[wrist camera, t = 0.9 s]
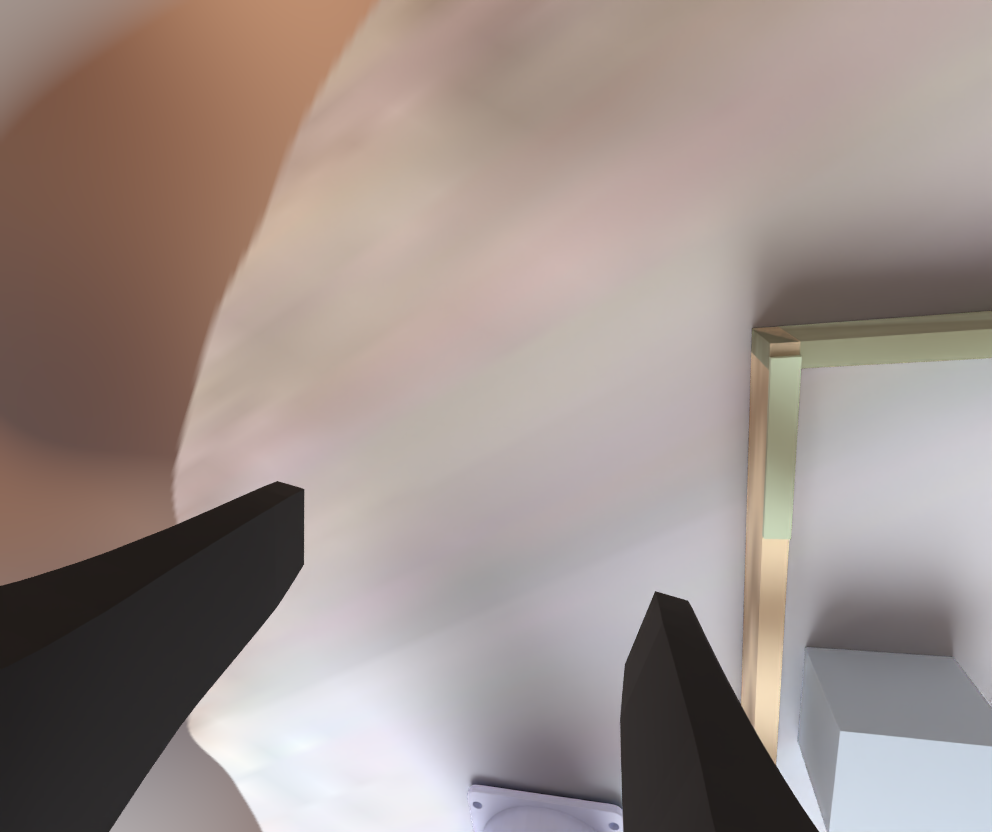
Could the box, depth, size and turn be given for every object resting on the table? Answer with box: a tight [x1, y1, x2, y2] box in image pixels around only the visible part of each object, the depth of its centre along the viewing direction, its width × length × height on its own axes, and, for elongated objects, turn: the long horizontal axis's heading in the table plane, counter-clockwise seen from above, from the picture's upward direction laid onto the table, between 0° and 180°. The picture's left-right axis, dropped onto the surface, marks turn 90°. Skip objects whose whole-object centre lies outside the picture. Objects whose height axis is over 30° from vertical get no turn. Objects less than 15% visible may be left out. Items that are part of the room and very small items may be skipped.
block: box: [798, 647, 992, 832], centre depth 20 cm, size 5×5×4 cm
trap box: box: [741, 311, 992, 765], centre depth 18 cm, size 20×14×3 cm
